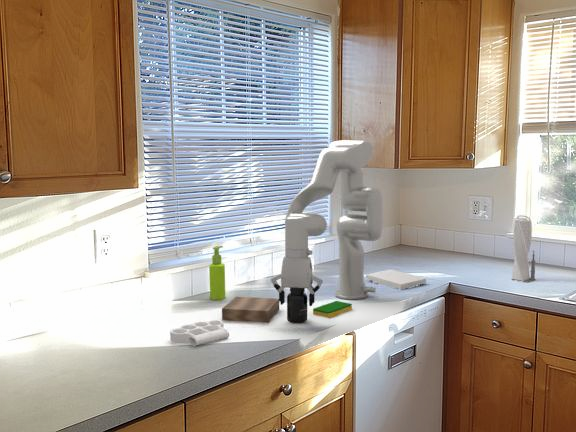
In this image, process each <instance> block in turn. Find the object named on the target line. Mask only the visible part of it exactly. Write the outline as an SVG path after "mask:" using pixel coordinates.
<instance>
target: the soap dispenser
mask: <svg viewBox="0 0 576 432" xmlns="http://www.w3.org/2000/svg"><path fill="white" fill-rule="evenodd" d="M223 247H224V246H223V245H215V246H213V247H212V250H214V251H213V252H214V254H213V255H212V256H211V258H212V259H211V260H212V261H211V262H212V263H210V264H208V271H209V272H208V273H209V299H210V300H213V301H220V300H225V299H226V265H225V263H223V262H222V255H221V254H220V249H221V248H223Z"/></svg>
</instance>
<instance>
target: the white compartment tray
mask: <svg viewBox="0 0 576 432" xmlns="http://www.w3.org/2000/svg"><path fill="white" fill-rule="evenodd" d="M169 332H170V333H169V334H170V335H169V336H170V338H169V339H170V340H171V341H172V342H171V341H170V342H171V343H173V342H174V343H173V344H189V345H191V346H192V347H197V346H200V345H203V344H208V343H213V342H217V341H220V340H223V339H224V340H225V339H227V338H229V337H230V333H229V331H228V329H226V328H224V322H223V320H218V319H217V320H216V319H211V320H209V321H208V320H207V321H197V322H196V321H195V322H192V323H189V324H188V323H187V324H183V325H181V326H180V327H177V328H172V329H171V330H170V331H169Z"/></svg>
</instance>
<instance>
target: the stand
mask: <svg viewBox="0 0 576 432" xmlns="http://www.w3.org/2000/svg"><path fill="white" fill-rule="evenodd" d="M279 311H280V301H279V298H274V297H273V298H272V297H251V296H250V297H249V296H235V297H234V298H233V299H231V301H229V302H228V303H227V304H225V306H224V307H222V308H221V321H229V322H232V321H233V322H246V323H247V322H249V323H263V324H264V323H268V324H269V322H270V321H271V320H272V319H273V318H274V317H275V315H276V314H277V313H278V312H279Z"/></svg>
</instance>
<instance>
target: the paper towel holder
mask: <svg viewBox="0 0 576 432" xmlns="http://www.w3.org/2000/svg"><path fill="white" fill-rule="evenodd" d="M532 226H533V225H532V220H531V218H530V217H529V216H527V215H521V214H520V215H517V216H516V217H515V218H514V224H513V230H512V231H513V234H512V237H513V238H512V240H513V242H512V243H513V251H514V261H513V267H512V274H511V280H512V281H515V280H517V281H516V282H521V281H523V282H522V283H527V282H528V283H530V281H531V282H533V281H534V282H535V281H536V280H537V279H536V276H535V275H536V274H535V273H536V270H535V269H536V266H535V265H536V260H535V250H532V260H531V261H530V262H529V257H528V256H529V252H530V248H531V244H532V238H533V237H532V235H533V233H532V232H533V230H532ZM529 263H531V267H530V265H529Z"/></svg>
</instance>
